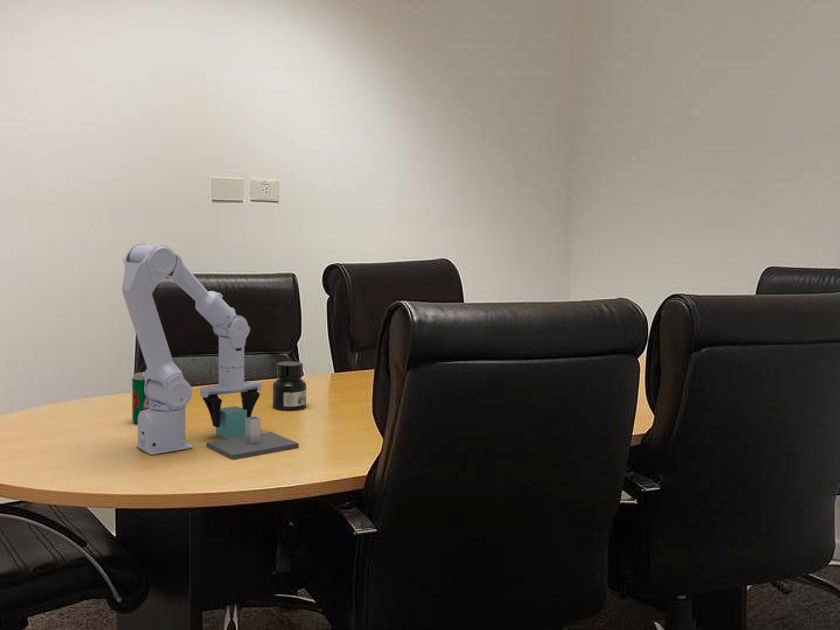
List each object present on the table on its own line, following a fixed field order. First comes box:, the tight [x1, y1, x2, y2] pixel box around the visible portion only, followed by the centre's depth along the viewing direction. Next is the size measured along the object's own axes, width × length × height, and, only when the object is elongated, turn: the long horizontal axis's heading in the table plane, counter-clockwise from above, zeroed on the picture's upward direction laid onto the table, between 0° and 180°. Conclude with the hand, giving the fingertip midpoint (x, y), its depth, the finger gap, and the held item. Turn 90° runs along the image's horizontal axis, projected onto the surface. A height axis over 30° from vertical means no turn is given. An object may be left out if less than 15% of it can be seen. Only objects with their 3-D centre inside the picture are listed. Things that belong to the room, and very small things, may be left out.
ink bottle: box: [272, 361, 307, 411], centre depth 211 cm, size 10×9×12 cm
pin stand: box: [206, 415, 300, 460], centre depth 171 cm, size 16×12×6 cm
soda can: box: [131, 371, 150, 425], centre depth 190 cm, size 5×5×12 cm
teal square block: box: [215, 405, 247, 439], centre depth 181 cm, size 5×5×6 cm
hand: (231, 424), depth 181 cm, fingers open, 7 cm apart
